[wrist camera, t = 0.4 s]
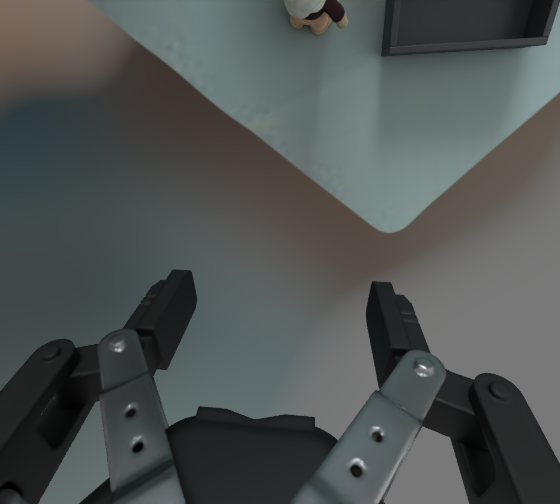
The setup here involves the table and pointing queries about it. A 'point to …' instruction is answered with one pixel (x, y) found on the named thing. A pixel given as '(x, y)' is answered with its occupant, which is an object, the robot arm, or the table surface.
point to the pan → (465, 25)
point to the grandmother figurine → (316, 14)
